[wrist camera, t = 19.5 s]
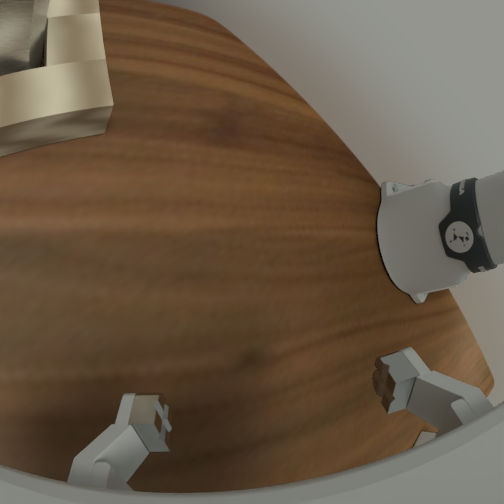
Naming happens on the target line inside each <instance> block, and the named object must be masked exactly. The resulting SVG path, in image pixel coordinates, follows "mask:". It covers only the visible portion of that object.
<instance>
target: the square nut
mask: <svg viewBox="0 0 504 504" xmlns="http://www.w3.org/2000/svg"><path fill="white" fill-rule="evenodd" d="M43 48H44V67H39V68H34V69H29V70H24V71H20V72H15V73H11V74H7V75H3V76H0V157H1V156H5V155H8V154H12V153H16V152H19V151H23V150H27V149H31V148H35V147H39V146H43V145H48V144H52V143H57V142H61V141H66V140H71V139H76V138H81V137H87V136H92V135H98V134H104V133H105V130H106V127H107V124H108V121H109V118H110V115H111V112H112V109H113V106H114V104H113V99H112V93H111V88H110V82H109V77H108V71H107V65H106V58H105V52H104V45H103V37H102V29H101V21H100V12H99V2H98V0H50V2H49V8H48V14H47V20H46V27H45V34H44V43H43Z"/></svg>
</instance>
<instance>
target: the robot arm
mask: <svg viewBox="0 0 504 504" xmlns="http://www.w3.org/2000/svg"><path fill="white" fill-rule="evenodd" d="M381 196H382V201H381V205H380V208H379V212H378V221H377V230H378V240H379V246H380V251H381V255H382V258H383V261H384V264H385V267H386V269H387V271H388V273H389V275H390V277H391V279H392V280H393V282H394V283H395V285H396V286H397V287H398V288H399V289H401V290H402V291H404V292H406V293H408V294H409V295H410V296H411V297H412V299H413V300H414V301H415V303H417V304H418V303H422V302H424V300H425V299H426V297H427V295H428V293H429V292H434V291H439V290H443V289H448V288H452V287H456V286H460V285H462V284H463V282H464V281H465V279H466V278H467V276H468V274H469V273H470V272H473V273H476V272H485V271H488V270H490V269H494V268H496V267H497V265H498V264H503V263H504V171H501V172H499V173H496V174H493V175H490V176H487V177H485V178H482V179H479V180H478V179H476V178H471V179H465V180H462V181H461V182H458V183H455V184H453V185H452V187H450V186H446V185H444V184H442V183H441V182H436V180H435V179H429V180H427V181H425V182H423V183H421V184H418V185H412V186H409V185H404V184H400V183H395V182H390V181H388V182H383V183H382V185H381ZM375 366H376V368H377V369H376V370H375V371H374V372H373V378H372V380H373V386H374V390H375V392H376V394H377V395H379V396H381V397H382V401H381V403H382V405H383V407H384V408H385V410H386V412H387V414H390V413H393V412H396V411H399V410H402V409H405V408H407V410H409V411H410V412H412V413H413V414H415V415H417V416H418V417H420V418H421V419H423V420H425V421H426V422H428V423H429V424H431V425H433V426H434V427H436V428H438V429H439V430H438V432H437V434H436V436H435V438H434V439H432V440H430V441H427V442H425V443H423V444H420V445H418V446H416V447H413V448H411V449H408V450H406V451H403V452H400V453H398V454H395V455H392V456H390V457H387V458H384V459H381V460H378V461H375V462H372V463H369V464H366V465H362V466H359V467H356V468H352V469H349V470H345V471H341V472H338V473H334V474H330V475H326V476H321V477H317V478H312V479H308V480H303V481H298V482H292V483H287V484H281V485H275V486H268V487H261V488H253V489H244V490H234V491H221V492H202V493H157V492H138V491H134V490H133V489H132V488H131V487H130V486H129V485H128V484H127V481H128V480H129V479H130V478H131V476H132V475H133V474H134V472H135V471H136V470H137V469H138V467H139V466H140V465H141V463H142V462H143V461H144V459H145V458H146V457H147V456H148V454H149V452H163V451H170V446H171V436H170V434H169V432H170V431H171V429H172V424H173V421H172V414H171V410H170V408H169V406H167V405H166V404H165V397H164V395H163V393H125V394H124V395H123V396H122V400H121V403H120V407H119V410H118V414H117V418H116V422H115V424H111V425H110V426H109V427H108V428H107V429H106V430H105V431H104V432H102V433H101V434H100V435H99V436H98V437H97V438H96V439H95V440H94V441H92V442H91V443H90V444H89V445H88V446H87V447H86V448H85V449H83V450H82V451H81V452H80V453H79V454H78V455H77V456H76V457H74V460H73V463H72V467H71V470H70V474H69V477H68V481H67V482H64V481H59V480H55V479H50V478H46V477H42V476H38V475H34V474H30V473H27V472H23V471H20V470H17V469H13V468H10V467H7V466H4V465H0V504H504V402H502V403H500V404H499V405H497V406H495V407H493V406H492V404H491V403H490V402H489V400H488V399H487V398H486V397H485V395H484V394H483V393H482V392H481V390H480V389H479V388H476V387H474V386H471V385H468V384H466V383H463V382H461V381H458V380H456V379H453V378H451V377H448V376H446V375H443V374H441V373H438V372H436V371H430V370H429V369H428V367H427V366H426V365H425V363H424V362H423V361H422V360H421V358H420V357H419V356H418V354H417V353H416V352H415V351H414V349H413V348H411V347H409V348H406V349H403V350H400V351H396V352H393V353H390V354H386V355H383V356H379V357H377V358H376V360H375Z"/></svg>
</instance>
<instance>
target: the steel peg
mask: <svg viewBox="0 0 504 504" xmlns="http://www.w3.org/2000/svg"><path fill="white" fill-rule="evenodd" d="M49 2H50V0H0V76H3V75H7V74H11V73H15V72H20V71H24V70H29V69H34V68H39V67H40V64H41V62H42V53H43V43H44V34H45V27H46V20H47V14H48V8H49Z"/></svg>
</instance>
